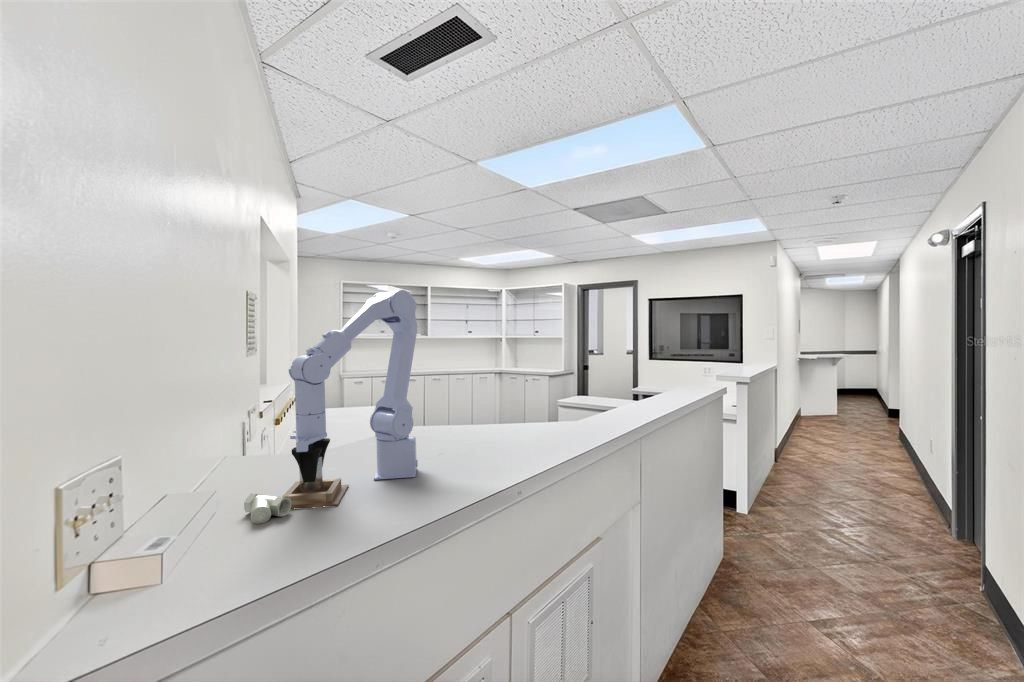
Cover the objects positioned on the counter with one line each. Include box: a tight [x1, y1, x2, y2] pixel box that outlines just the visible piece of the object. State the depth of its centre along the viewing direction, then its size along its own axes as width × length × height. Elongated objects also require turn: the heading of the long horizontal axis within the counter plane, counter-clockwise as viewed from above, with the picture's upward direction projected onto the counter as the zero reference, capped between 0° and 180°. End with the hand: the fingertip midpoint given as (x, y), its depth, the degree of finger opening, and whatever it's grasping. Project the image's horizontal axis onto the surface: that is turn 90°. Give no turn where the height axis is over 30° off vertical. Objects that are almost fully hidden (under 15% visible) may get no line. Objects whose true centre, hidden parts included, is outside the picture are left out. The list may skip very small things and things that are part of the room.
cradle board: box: [281, 478, 349, 509], centre depth 98 cm, size 12×12×3 cm
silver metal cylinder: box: [298, 456, 324, 491], centre depth 98 cm, size 4×4×6 cm
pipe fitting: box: [243, 493, 292, 525], centre depth 88 cm, size 8×4×7 cm
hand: (312, 477), depth 98 cm, fingers closed on silver metal cylinder, 4 cm apart
